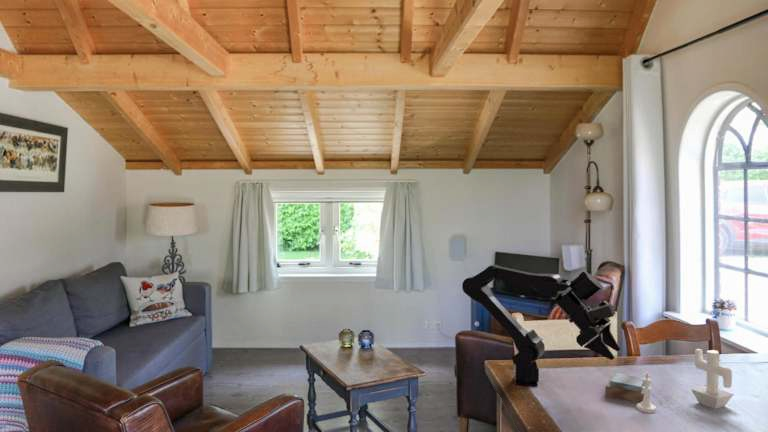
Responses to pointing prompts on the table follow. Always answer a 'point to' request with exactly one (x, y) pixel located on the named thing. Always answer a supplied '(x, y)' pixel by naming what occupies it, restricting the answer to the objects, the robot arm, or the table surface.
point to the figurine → (712, 380)
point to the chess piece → (646, 397)
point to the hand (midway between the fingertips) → (616, 354)
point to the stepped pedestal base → (625, 388)
